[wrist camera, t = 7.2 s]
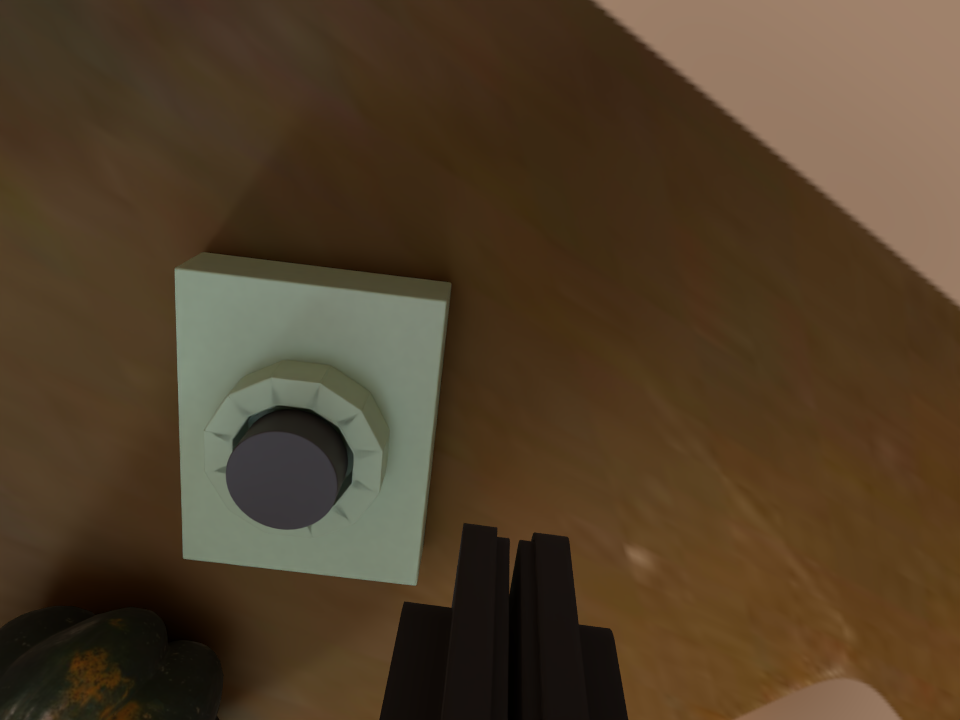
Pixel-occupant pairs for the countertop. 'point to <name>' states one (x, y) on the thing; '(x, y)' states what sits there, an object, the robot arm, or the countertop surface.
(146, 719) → the squash
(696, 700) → the countertop surface
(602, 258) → the countertop surface
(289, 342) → the knob plate
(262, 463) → the button
